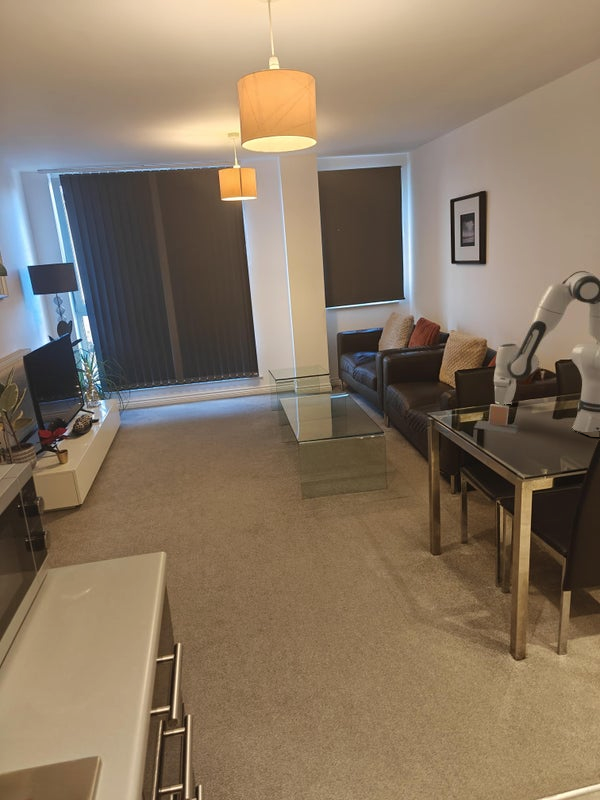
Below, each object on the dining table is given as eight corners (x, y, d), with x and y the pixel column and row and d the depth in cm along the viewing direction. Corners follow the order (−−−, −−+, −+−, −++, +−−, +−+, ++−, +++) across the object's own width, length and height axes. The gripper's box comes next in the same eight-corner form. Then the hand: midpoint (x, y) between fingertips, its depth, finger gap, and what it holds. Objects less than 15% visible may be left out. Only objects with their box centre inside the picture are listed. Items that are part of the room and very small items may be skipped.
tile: (506, 424, 246) (509, 406, 243) (506, 426, 244) (508, 407, 242) (488, 422, 249) (490, 404, 247) (488, 423, 248) (490, 405, 245)
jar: (516, 406, 274) (519, 378, 270) (495, 405, 276) (498, 377, 272) (511, 400, 284) (514, 373, 280) (491, 400, 286) (494, 373, 282)
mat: (518, 426, 245) (518, 425, 244) (515, 434, 234) (515, 433, 234) (478, 420, 252) (478, 420, 252) (473, 428, 242) (473, 427, 242)
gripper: (499, 373, 256) (496, 400, 260) (493, 382, 239) (490, 411, 243) (513, 374, 253) (510, 402, 257) (508, 384, 236) (505, 413, 240)
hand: (500, 406), depth 250 cm, fingers closed
